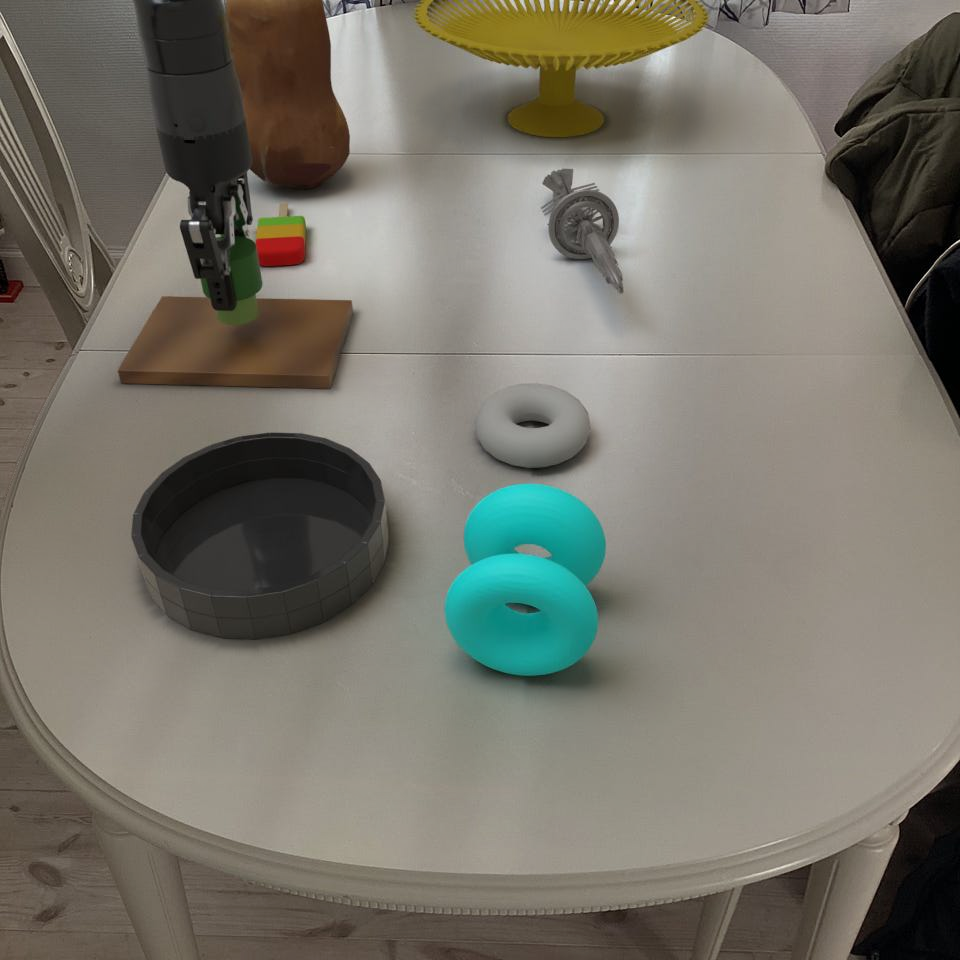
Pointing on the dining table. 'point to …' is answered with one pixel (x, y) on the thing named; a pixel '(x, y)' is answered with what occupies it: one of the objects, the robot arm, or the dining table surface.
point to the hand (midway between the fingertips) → (233, 291)
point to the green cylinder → (241, 282)
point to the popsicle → (281, 239)
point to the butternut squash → (288, 90)
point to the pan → (261, 535)
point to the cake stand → (560, 48)
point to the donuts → (527, 581)
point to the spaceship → (583, 224)
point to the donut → (532, 443)
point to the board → (240, 344)
